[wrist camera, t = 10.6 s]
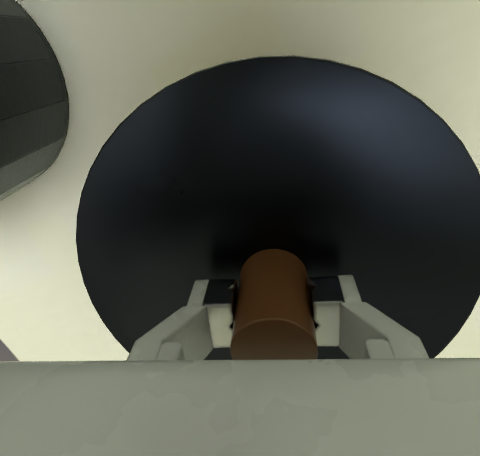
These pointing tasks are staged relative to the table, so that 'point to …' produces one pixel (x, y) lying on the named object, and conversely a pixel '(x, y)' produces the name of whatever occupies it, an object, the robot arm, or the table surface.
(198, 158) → the pot lid
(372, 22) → the table surface
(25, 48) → the pot
